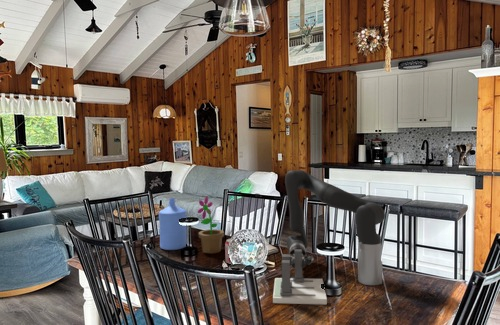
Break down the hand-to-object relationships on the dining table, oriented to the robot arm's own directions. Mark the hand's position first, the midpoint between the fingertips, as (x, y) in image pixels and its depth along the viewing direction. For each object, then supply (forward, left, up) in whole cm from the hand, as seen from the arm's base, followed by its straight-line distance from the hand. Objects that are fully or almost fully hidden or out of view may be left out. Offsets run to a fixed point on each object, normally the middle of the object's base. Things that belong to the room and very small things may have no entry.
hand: (298, 265), depth 154 cm
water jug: (+71, -57, -10) cm, 91 cm away
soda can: (+32, -29, -10) cm, 44 cm away
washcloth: (+20, -51, -10) cm, 55 cm away
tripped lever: (0, -3, -7) cm, 7 cm away
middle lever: (+5, +4, -7) cm, 9 cm away
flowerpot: (+47, -50, -10) cm, 69 cm away
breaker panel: (0, +4, -9) cm, 10 cm away
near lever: (+5, +11, -7) cm, 14 cm away
